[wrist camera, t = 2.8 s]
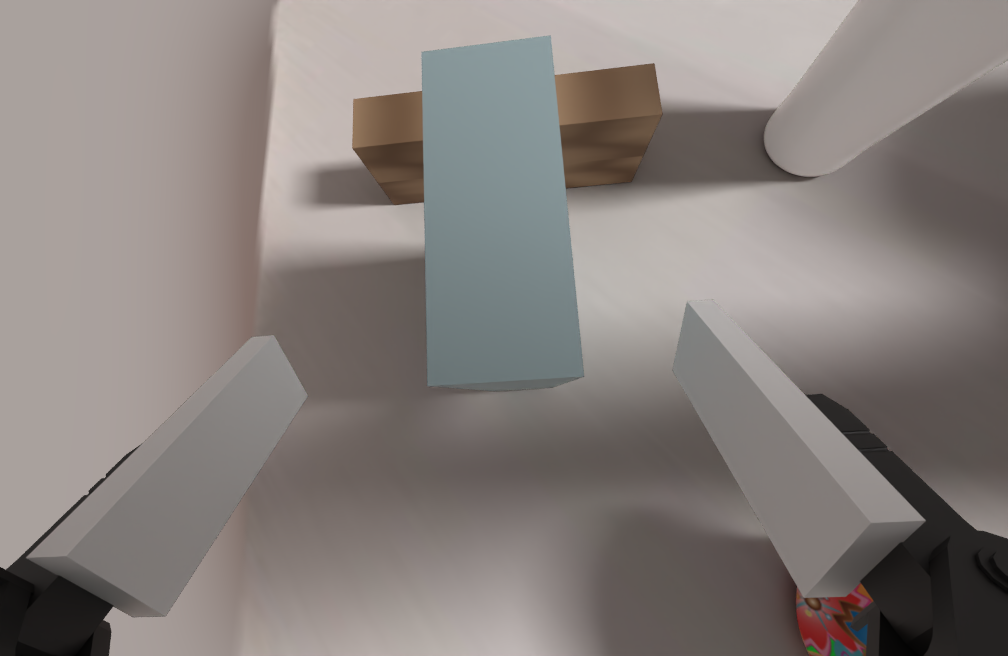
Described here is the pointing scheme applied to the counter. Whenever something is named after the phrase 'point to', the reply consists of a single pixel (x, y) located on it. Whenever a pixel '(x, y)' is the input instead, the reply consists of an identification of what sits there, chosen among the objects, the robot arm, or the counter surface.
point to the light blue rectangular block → (496, 221)
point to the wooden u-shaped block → (582, 119)
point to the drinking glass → (883, 77)
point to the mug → (832, 623)
